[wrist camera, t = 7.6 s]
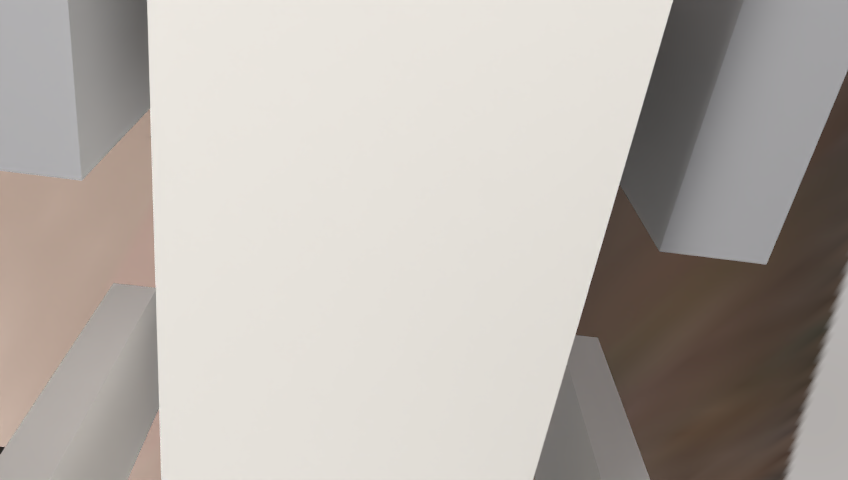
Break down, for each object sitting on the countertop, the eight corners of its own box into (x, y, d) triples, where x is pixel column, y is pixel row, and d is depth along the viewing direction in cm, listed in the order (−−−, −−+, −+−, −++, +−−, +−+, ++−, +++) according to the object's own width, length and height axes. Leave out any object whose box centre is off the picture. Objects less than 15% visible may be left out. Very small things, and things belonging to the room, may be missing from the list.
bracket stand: (181, -269, 14) (-183, -428, 5) (659, -187, 14) (1003, -212, 6) (186, 507, 23) (58, 890, 15) (475, 532, 24) (510, 912, 15)
